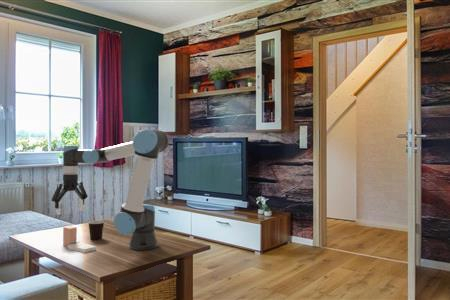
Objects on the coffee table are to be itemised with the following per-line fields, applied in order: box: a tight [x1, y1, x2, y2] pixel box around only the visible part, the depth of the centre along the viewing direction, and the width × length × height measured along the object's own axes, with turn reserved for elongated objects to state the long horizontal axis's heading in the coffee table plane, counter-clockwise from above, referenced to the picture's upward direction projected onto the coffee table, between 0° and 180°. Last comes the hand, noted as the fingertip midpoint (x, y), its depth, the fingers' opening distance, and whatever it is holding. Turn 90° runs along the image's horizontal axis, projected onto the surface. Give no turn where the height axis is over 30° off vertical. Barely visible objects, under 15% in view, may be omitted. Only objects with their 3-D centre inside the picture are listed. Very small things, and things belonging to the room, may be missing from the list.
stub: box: [62, 225, 78, 248], centre depth 200 cm, size 6×4×10 cm, turn 56°
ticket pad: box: [67, 241, 97, 254], centre depth 195 cm, size 14×7×2 cm, turn 56°
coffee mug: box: [88, 220, 105, 241], centre depth 217 cm, size 12×9×10 cm
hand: (69, 212), depth 200 cm, fingers open, 13 cm apart
